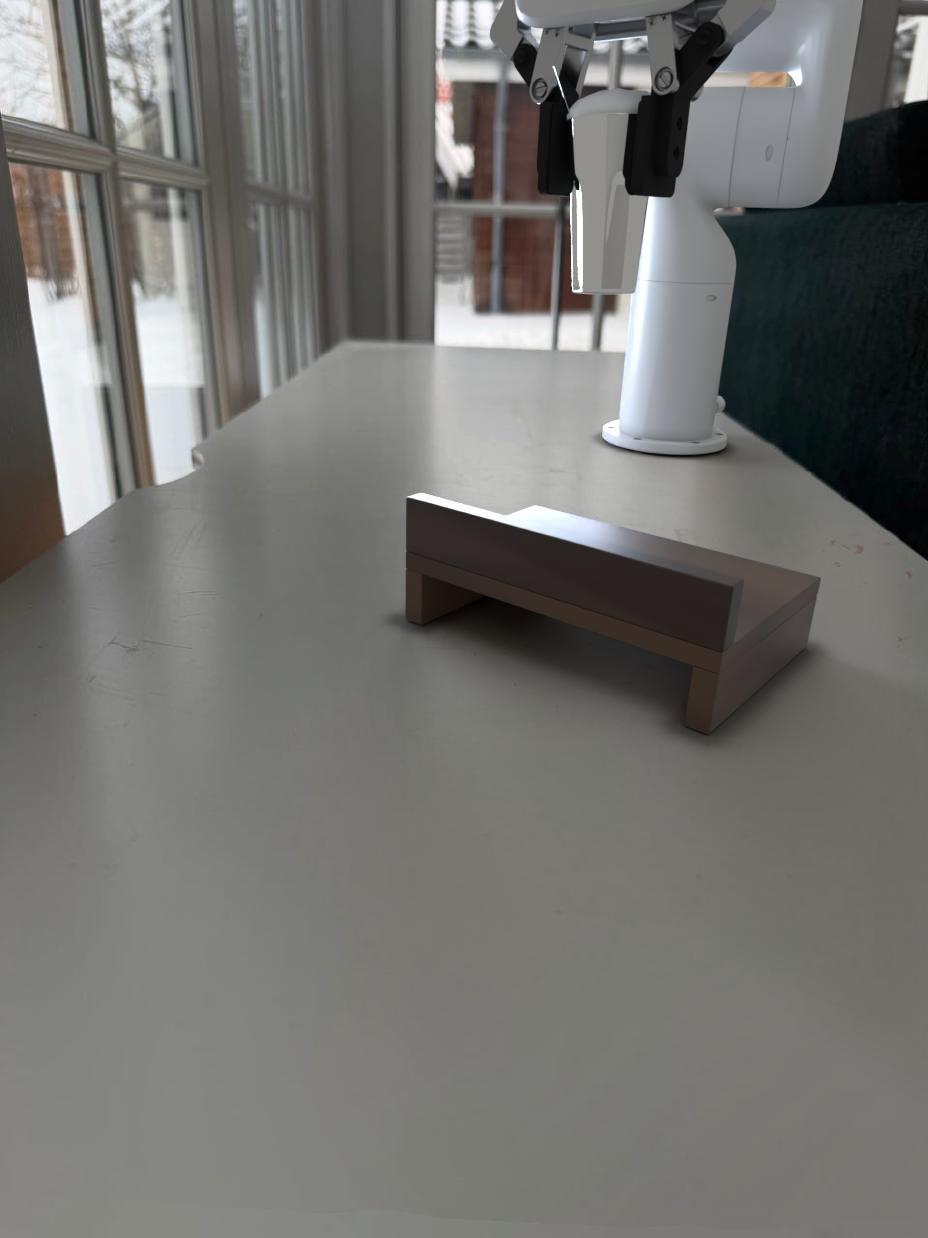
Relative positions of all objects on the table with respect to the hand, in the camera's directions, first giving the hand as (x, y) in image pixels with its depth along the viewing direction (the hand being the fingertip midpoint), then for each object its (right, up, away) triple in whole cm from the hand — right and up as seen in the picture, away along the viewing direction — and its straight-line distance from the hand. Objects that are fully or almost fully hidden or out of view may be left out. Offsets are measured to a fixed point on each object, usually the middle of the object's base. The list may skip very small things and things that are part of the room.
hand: (604, 191), depth 44 cm
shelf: (+1, -22, +4) cm, 22 cm away
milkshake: (0, -4, +2) cm, 5 cm away
